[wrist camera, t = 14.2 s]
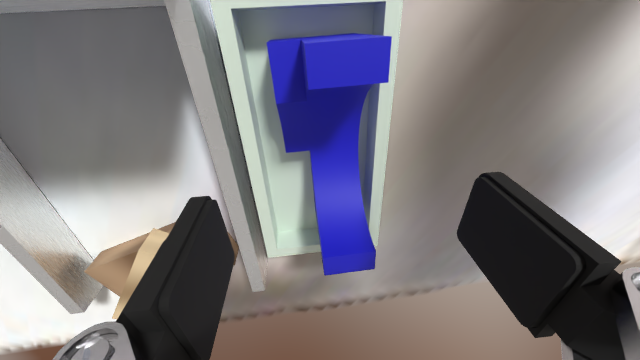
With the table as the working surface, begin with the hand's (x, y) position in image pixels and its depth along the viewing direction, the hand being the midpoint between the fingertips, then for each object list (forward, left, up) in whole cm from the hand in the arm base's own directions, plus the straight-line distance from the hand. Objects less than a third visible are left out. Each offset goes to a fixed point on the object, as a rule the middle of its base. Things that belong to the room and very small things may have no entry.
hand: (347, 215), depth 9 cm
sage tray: (+1, +1, -9) cm, 9 cm away
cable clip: (0, 0, -9) cm, 9 cm away
